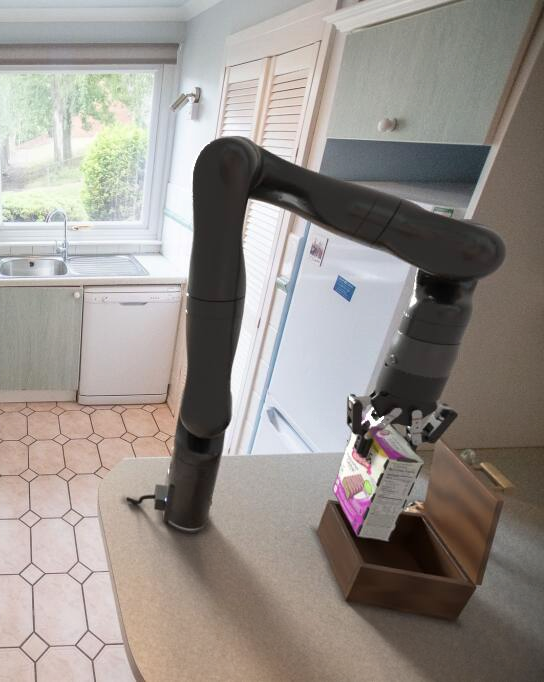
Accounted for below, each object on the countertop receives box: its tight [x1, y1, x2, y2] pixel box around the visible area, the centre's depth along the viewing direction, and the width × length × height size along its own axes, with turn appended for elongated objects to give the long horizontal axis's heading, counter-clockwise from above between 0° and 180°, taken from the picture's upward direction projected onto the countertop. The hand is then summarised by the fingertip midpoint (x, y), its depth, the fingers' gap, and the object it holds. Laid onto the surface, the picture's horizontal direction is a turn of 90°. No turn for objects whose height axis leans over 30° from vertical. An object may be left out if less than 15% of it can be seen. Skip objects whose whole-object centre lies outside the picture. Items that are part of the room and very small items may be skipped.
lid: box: [423, 436, 518, 586], centre depth 76 cm, size 18×16×6 cm
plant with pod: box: [403, 448, 477, 526], centre depth 94 cm, size 8×11×20 cm
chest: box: [316, 499, 478, 623], centre depth 84 cm, size 17×16×9 cm
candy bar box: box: [331, 416, 425, 541], centre depth 74 cm, size 11×5×16 cm, turn 168°
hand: (380, 456), depth 72 cm, fingers closed on candy bar box, 5 cm apart
